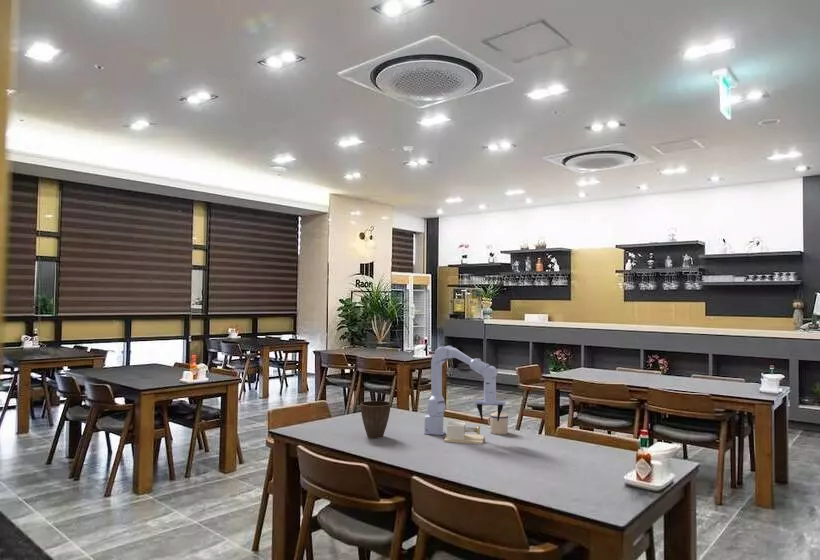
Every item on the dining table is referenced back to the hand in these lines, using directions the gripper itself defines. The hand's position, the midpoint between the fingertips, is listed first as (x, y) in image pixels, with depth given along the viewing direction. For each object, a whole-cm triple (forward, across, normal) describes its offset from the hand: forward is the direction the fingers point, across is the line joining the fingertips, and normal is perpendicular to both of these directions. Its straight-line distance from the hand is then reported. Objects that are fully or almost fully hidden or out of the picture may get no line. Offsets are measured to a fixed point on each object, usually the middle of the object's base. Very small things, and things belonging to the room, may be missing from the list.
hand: (489, 420), depth 273 cm
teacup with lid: (+10, +3, +20) cm, 22 cm away
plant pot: (+9, -55, -4) cm, 56 cm away
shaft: (+7, -11, 0) cm, 13 cm away
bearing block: (+9, -12, 0) cm, 15 cm away
